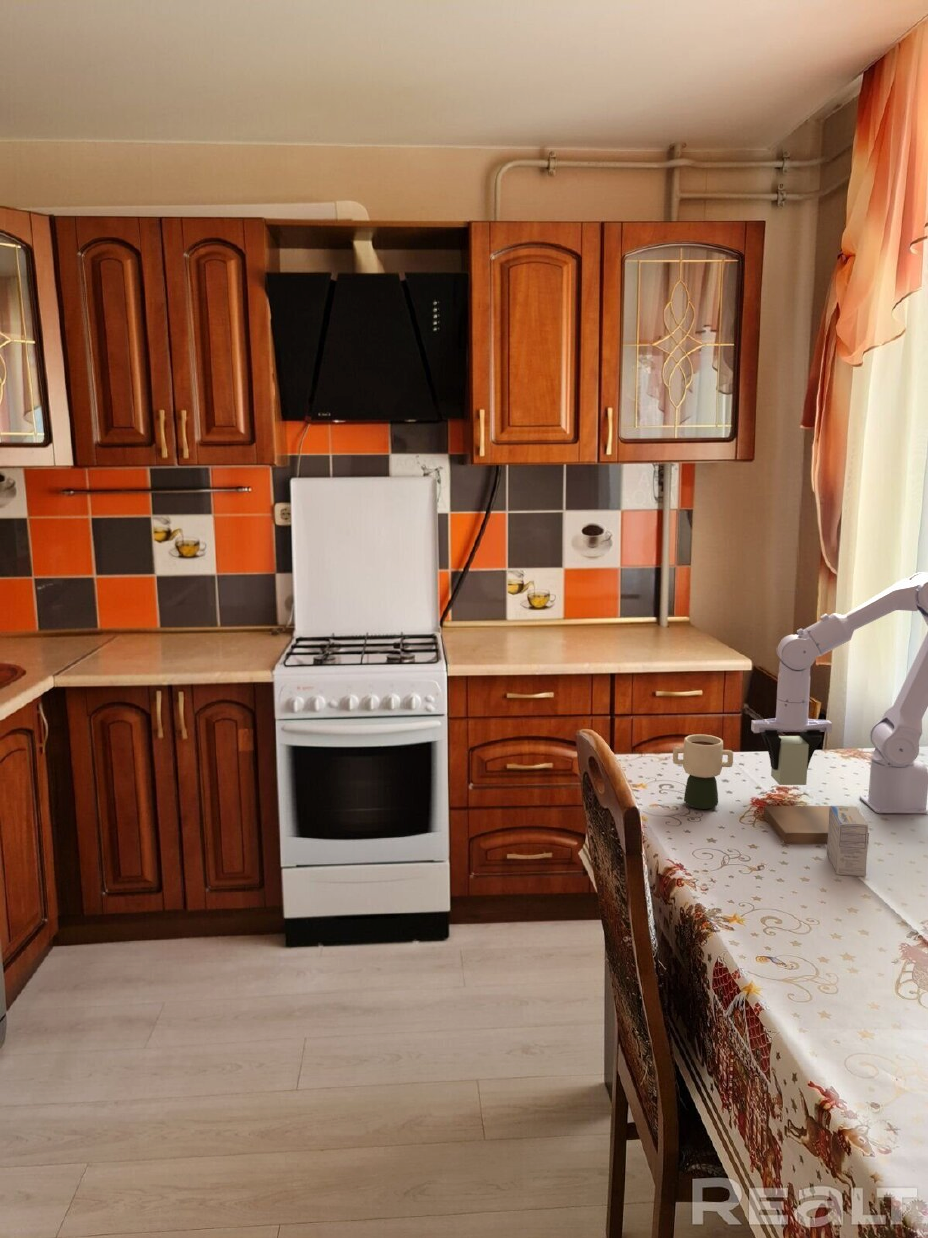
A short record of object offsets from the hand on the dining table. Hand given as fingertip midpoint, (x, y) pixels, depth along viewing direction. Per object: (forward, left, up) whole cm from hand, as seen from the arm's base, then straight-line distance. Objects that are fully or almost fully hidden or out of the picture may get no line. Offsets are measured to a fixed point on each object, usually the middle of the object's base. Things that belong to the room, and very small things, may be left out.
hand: (789, 768), depth 168 cm
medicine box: (0, +28, -7) cm, 29 cm away
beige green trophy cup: (+17, +3, -7) cm, 19 cm away
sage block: (0, 0, -2) cm, 2 cm away
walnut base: (0, +14, -6) cm, 15 cm away
